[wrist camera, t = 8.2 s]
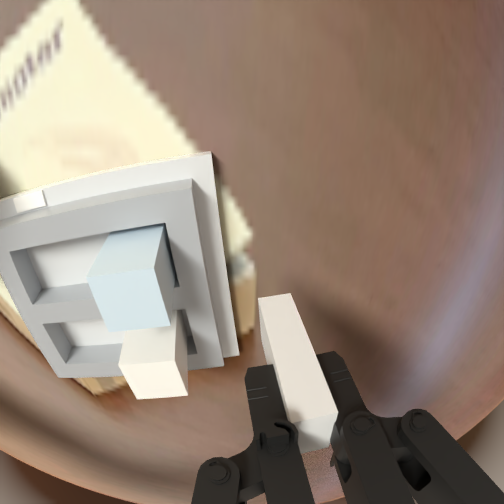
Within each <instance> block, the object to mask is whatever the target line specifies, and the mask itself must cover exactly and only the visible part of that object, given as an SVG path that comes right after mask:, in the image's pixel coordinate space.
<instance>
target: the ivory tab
mask: <svg viewBox="0 0 504 504" xmlns="http://www.w3.org/2000/svg"><path fill="white" fill-rule="evenodd" d="M118 366H119V368H120V369H121V371H122V373H123V375H124V377H125V379H126V380H127V382H128V384H129V386H130V388H131V389H132V391H133V393H134V394H135V396H136V398H137V399H150V398H164V397H176V396H187V395H188V366H187V330H186V326H185V323H184V319H183V315H182V312H181V309H180V310H172V316H171V326H164V327H156V328H147V329H138V330H128V331H125V335H124V340H123V344H122V349H121V354H120V359H119V364H118Z"/></svg>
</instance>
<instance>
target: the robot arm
mask: <svg viewBox="0 0 504 504" xmlns="http://www.w3.org/2000/svg"><path fill="white" fill-rule="evenodd" d="M258 304H259V315H260V327H261V339H262V344H263V348H264V352H265V357H266V361H267V365H263V366H257V367H251V368H248V370H247V373H246V376H245V385H246V391H247V397H248V403H249V409H250V414H251V420H252V426H253V431H254V437H253V441H252V443H251V444H250V446H249V447H248V448H247V449H246V450H244V451H243V452H241V453H239V454H237V455H235V456H232V457H230V458H228V459H227V458H223V457H215V458H211V459H209V460H206V461H205V462H204V463H203V464H202V465H201V466H200V469H199V471H198V474H197V479H196V484H195V488H194V493H193V498H192V502H191V504H247V500H249V499H252V498H254V497H256V496H258V495H260V494H262V493H264V492H265V495H266V500H267V504H315V502H314V499H313V495H312V492H311V488H310V485H309V481H308V477H307V474H306V470H305V467H304V463H303V460H302V456H301V454H302V453H306V452H311V451H315V450H319V449H323V448H327V447H329V444H330V442H331V445H332V448H333V451H334V452H333V455H332V458H331V461H330V467H332V466H334V465H335V468H336V471H337V474H338V477H339V480H340V483H341V486H342V489H343V492H344V495H345V498H346V501H347V504H415V503H414V500H413V498H414V499H415V500H416V501H417V503H418V504H504V493H503V492H502V491H501V490H500V488H499V487H498V486H497V485H496V484H495V483H494V482H493V481H492V480H491V479H490V477H489V476H488V475H487V474H486V473H485V472H484V471H483V470H482V469H481V468H480V467H479V465H478V464H477V463H476V462H475V461H474V460H473V459H472V458H471V457H470V456H469V454H468V453H467V452H466V451H465V450H464V449H463V448H462V447H461V446H460V445H459V444H458V443H457V442H456V440H455V439H454V438H453V437H452V436H451V435H450V434H449V433H448V432H447V431H446V430H445V429H444V428H443V426H442V425H441V424H440V423H439V422H438V421H437V420H436V419H435V418H434V417H433V416H432V415H431V414H430V413H429V412H427V411H426V410H422V409H413V410H411V411H408V412H407V413H406V414H405V415H404V416H403V417H394V418H383V417H378V416H376V415H374V414H372V413H371V412H370V411H368V410H367V408H366V406H365V405H364V402H363V400H362V398H361V396H360V394H359V392H358V389H357V387H356V385H355V383H354V381H353V379H352V378H351V375H350V372H349V371H348V368H347V366H346V364H345V362H344V360H343V358H342V357H340V356H339V355H338V354H337V353H336V352H335V351H332V352H327V353H323V354H318V355H315V352H314V350H313V347H312V345H311V342H310V340H309V337H308V335H307V333H306V330H305V328H304V325H303V323H302V320H301V318H300V315H299V313H298V311H297V308H296V306H295V303H294V301H293V298H292V296H291V294H290V293H289V294H282V295H276V296H270V297H263V298H258ZM412 497H413V498H412Z"/></svg>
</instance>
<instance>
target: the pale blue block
mask: <svg viewBox="0 0 504 504" xmlns="http://www.w3.org/2000/svg"><path fill="white" fill-rule="evenodd" d="M175 270H176V269H175V264H174V260H173V256H172V251H171V247H170V242H169V237H168V233H167V228H166V223H160V224H154V225H148V226H142V227H136V228H130V229H124V230H118V231H112V232H110V234H109V236H108V237H107V239H106V241H105V243H104V244H103V246H102V248H101V250H100V252H99V254H98V256H97V257H96V259H95V261H94V263H93V265H92V267H91V269H90V271H89V273H88V275H87V277H86V279H87V281H88V284H89V287H90V289H91V292H92V294H93V297H94V299H95V301H96V304H97V306H98V309H99V311H100V313H101V316H102V318H103V320H104V322H105V325H106V327H107V329H108V331H109V332H118V331H128V330H138V329H147V328H156V327H164V326H171V316H172V303H173V291H174V280H175Z"/></svg>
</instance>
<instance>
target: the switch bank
mask: <svg viewBox="0 0 504 504" xmlns="http://www.w3.org/2000/svg"><path fill="white" fill-rule="evenodd" d="M160 223H166V228H167V233H168V237H169V242H170V247H171V251H172V256H173V260H174V264H175V269H176V270H175V280H174V291H173V303H172V310H180V309H181V312H182V315H183V319H184V323H185V326H186V330H187V366H188V370H196V369H204V368H212V367H219V366H224V360H223V358H224V357H231V356H238V355H239V350H238V343H237V337H236V331H235V324H234V318H233V311H232V304H231V298H230V291H229V284H228V277H227V270H226V263H225V256H224V249H223V241H222V234H221V227H220V219H219V211H218V204H217V196H216V188H215V180H214V172H213V163H212V155H211V151H208V152H201V153H194V154H187V155H181V156H175V157H169V158H163V159H157V160H151V161H146V162H141V163H136V164H131V165H126V166H121V167H116V168H111V169H107V170H102V171H98V172H94V173H89V174H85V175H81V176H77V177H73V178H69V179H65V180H62V181H58V182H54V183H50V184H47V185H43V186H40V187H36V188H33V189H30V190H26V191H23V192H20V193H17V194H13V195H10V196H7V197H4V198H1V199H0V274H1V276H2V278H3V281H4V283H5V285H6V287H7V289H8V291H9V293H10V295H11V298H12V300H13V302H14V304H15V305H16V307H17V309H18V311H19V313H20V315H21V317H22V319H23V321H24V322H25V324H26V326H27V328H28V330H29V331H30V333H31V335H32V337H33V338H34V340H35V342H36V343H37V345H38V347H39V348H40V350H41V351H42V353H43V355H44V356H45V358H46V359H47V361H48V362H49V364H50V365H51V367H52V369H53V370H54V371H55V373H56V374H57V376H58V377H59V378H81V377H112V376H124V375H123V373H122V371H121V369H120V368H119V366H118V364H119V359H120V354H121V349H122V344H123V340H124V335H125V331H118V332H109V331H108V329H107V327H106V325H105V322H104V320H103V318H102V316H101V313H100V311H99V309H98V306H97V304H96V301H95V299H94V297H93V294H92V292H91V289H90V287H89V284H88V281H87V279H86V277H87V275H88V273H89V271H90V269H91V267H92V265H93V263H94V261H95V259H96V257H97V256H98V254H99V252H100V250H101V248H102V246H103V244H104V243H105V241H106V239H107V237H108V236H109V234H110V232H112V231H118V230H124V229H130V228H136V227H142V226H148V225H154V224H160Z"/></svg>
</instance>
